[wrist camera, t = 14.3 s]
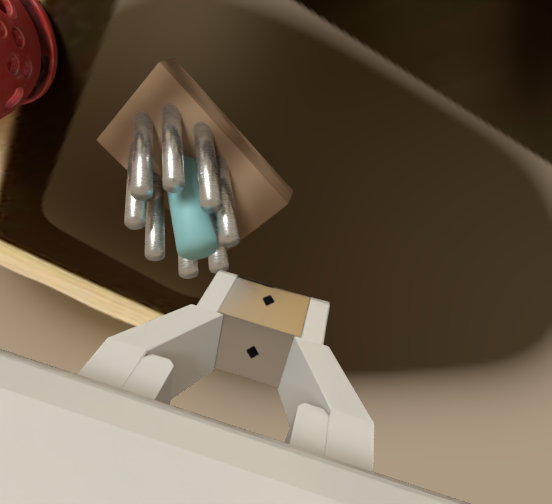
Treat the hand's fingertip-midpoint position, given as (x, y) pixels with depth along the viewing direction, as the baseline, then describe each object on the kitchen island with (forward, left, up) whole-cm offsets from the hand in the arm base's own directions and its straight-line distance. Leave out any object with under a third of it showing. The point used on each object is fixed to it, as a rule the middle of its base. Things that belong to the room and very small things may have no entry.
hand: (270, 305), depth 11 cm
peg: (+8, +12, -25) cm, 29 cm away
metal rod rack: (+7, +12, -29) cm, 32 cm away
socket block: (+7, +12, -29) cm, 32 cm away
